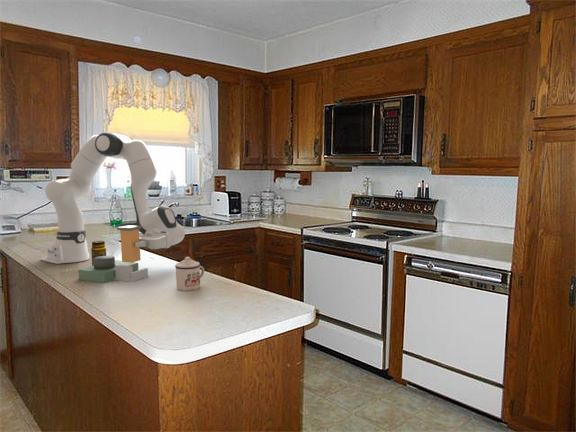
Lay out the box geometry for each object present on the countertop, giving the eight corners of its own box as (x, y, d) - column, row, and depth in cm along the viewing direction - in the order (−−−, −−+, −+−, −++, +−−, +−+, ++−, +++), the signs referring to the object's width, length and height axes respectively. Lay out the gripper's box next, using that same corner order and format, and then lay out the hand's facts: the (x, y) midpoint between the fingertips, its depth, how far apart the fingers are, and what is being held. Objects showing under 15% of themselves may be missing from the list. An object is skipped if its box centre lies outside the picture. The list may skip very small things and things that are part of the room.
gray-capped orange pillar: (119, 261, 179) (117, 227, 177) (130, 258, 185) (129, 225, 183) (131, 263, 176) (129, 228, 175) (143, 259, 182) (141, 225, 180)
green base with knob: (78, 279, 179) (77, 259, 179) (114, 269, 197) (113, 251, 196) (121, 285, 170) (120, 264, 170) (155, 274, 188) (154, 255, 187)
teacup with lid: (186, 292, 161) (185, 261, 160) (170, 288, 167) (169, 257, 165) (211, 285, 170) (211, 255, 169) (196, 281, 176) (195, 252, 174)
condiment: (109, 268, 197) (108, 242, 196) (88, 271, 193) (87, 243, 191) (105, 265, 203) (104, 239, 202) (85, 268, 199) (84, 241, 197)
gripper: (136, 229, 196) (110, 234, 183) (171, 233, 186) (146, 238, 174) (137, 244, 196) (111, 249, 184) (172, 248, 186) (147, 254, 174)
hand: (128, 244), depth 179 cm, fingers closed on gray-capped orange pillar, 5 cm apart
